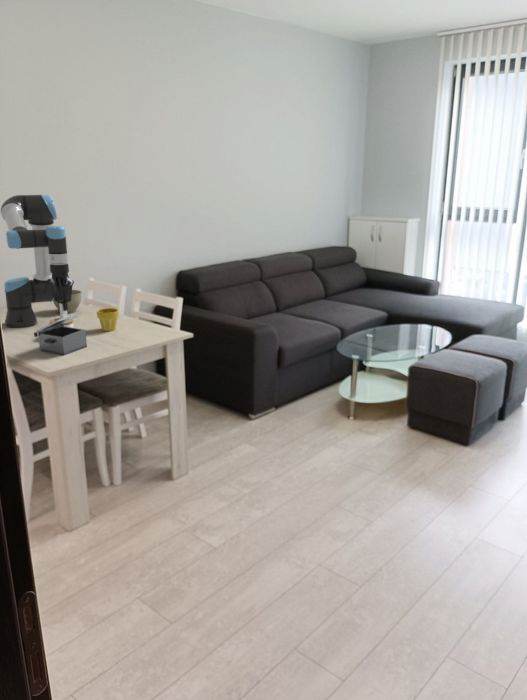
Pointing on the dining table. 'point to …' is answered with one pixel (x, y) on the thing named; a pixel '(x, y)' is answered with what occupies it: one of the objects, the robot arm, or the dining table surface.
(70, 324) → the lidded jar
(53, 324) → the lid
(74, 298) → the planter bowl
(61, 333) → the storage box
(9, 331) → the dining table surface
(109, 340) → the dining table surface
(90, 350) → the dining table surface
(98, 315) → the plant pot
